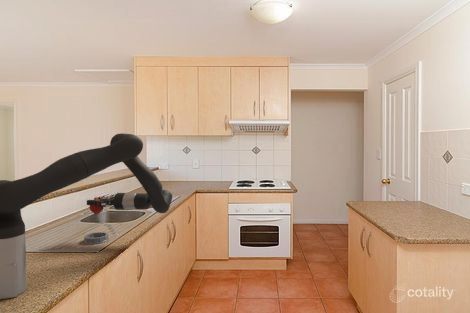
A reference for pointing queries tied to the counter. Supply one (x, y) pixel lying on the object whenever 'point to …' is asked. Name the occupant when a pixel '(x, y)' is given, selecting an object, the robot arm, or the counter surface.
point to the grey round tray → (96, 238)
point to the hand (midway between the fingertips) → (90, 201)
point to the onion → (96, 208)
